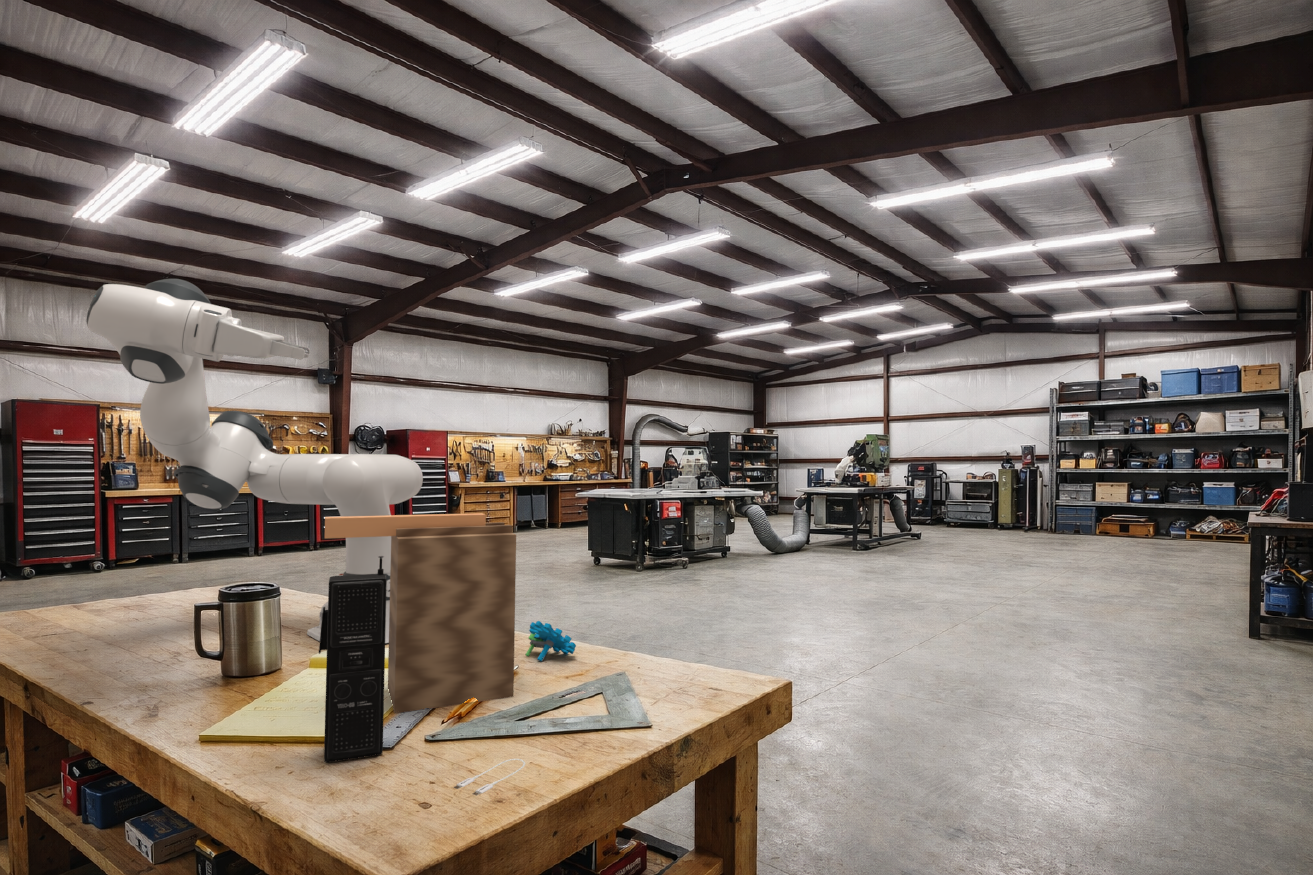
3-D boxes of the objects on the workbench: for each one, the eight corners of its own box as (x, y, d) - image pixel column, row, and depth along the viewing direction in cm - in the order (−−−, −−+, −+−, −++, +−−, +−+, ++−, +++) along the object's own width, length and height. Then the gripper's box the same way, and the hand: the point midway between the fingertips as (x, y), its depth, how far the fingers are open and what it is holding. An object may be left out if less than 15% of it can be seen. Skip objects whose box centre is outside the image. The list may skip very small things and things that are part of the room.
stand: (394, 713, 103) (398, 530, 104) (387, 689, 114) (391, 524, 115) (513, 696, 111) (516, 527, 112) (496, 675, 122) (499, 521, 123)
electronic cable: (451, 789, 80) (452, 785, 80) (509, 758, 89) (509, 754, 89) (477, 798, 78) (477, 794, 78) (534, 765, 87) (534, 762, 87)
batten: (324, 538, 104) (325, 518, 104) (324, 536, 106) (325, 516, 106) (485, 532, 114) (485, 514, 114) (481, 530, 117) (482, 513, 117)
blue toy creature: (587, 649, 133) (556, 618, 128) (572, 677, 129) (539, 645, 125) (550, 647, 140) (520, 617, 136) (535, 672, 136) (503, 643, 132)
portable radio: (314, 767, 85) (320, 563, 86) (317, 748, 90) (322, 557, 91) (383, 756, 88) (387, 560, 89) (381, 739, 94) (386, 554, 94)
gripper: (221, 350, 121) (308, 369, 126) (193, 353, 102) (297, 375, 107) (229, 315, 120) (315, 335, 126) (202, 311, 102) (305, 335, 107)
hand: (307, 354), depth 117 cm, fingers open, 8 cm apart
